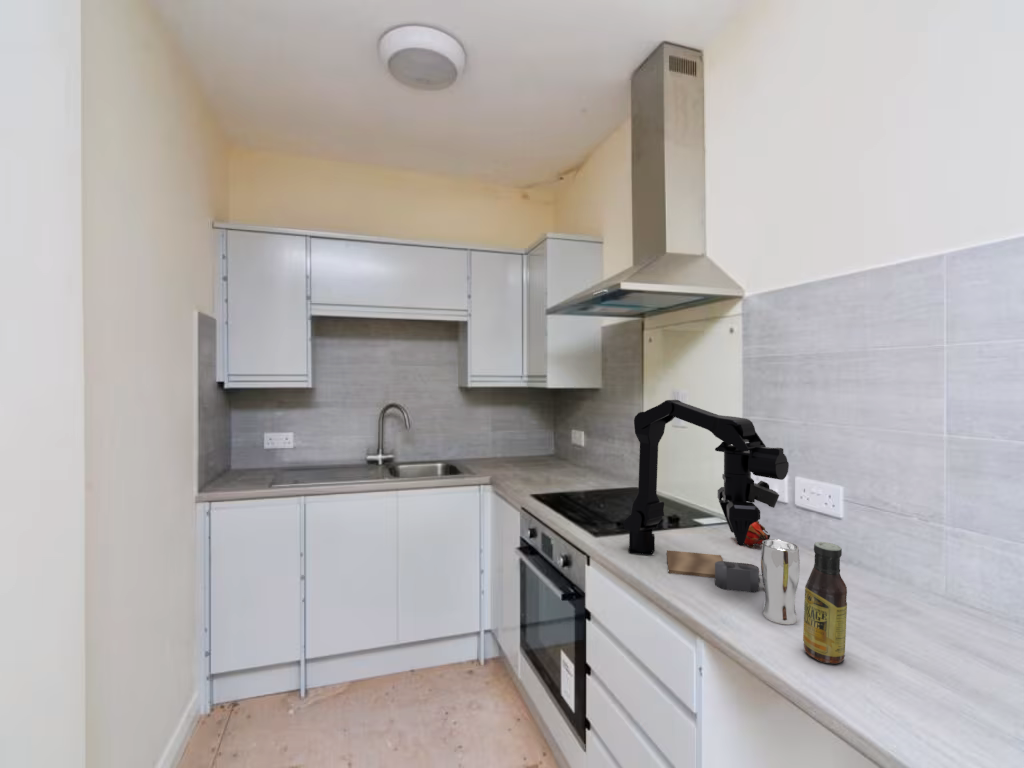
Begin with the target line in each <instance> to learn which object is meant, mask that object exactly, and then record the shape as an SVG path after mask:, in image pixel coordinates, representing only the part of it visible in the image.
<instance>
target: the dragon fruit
mask: <svg viewBox="0 0 1024 768" xmlns="http://www.w3.org/2000/svg"><path fill="white" fill-rule="evenodd" d="M768 539H771V534H768V531H767V530H766V527H764V526H763V525H762V524H761V523H760V521H759V520H758V521H757V522H754V523H752V524H751V525H750V526H749V529H748V532H747V536H746V539H745V542H744V545H746V546H747V547H749V548H751V549H752V548H754V549H755V548H757V547H756V546H755V545H761V546H762V541H764V540H768Z"/></svg>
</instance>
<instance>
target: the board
mask: <svg viewBox="0 0 1024 768" xmlns="http://www.w3.org/2000/svg"><path fill="white" fill-rule="evenodd" d="M666 559H667V568H668V569H667V570H669V571H668V574H673V575H674V574H675V575H683V576H694V577H702V578H703V577H704V578H714V579H715V562H718V561H724V559H723V557H722V555H721V554H712V553H702V552H700V553H699V552H691V551H681V550H680V551H677V550H669V549H668V550H666Z"/></svg>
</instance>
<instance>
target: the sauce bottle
mask: <svg viewBox="0 0 1024 768" xmlns="http://www.w3.org/2000/svg"><path fill="white" fill-rule="evenodd" d="M813 552H814V564H813V567H812V569H811V572H810V574H809V576H808V579H807V581H806V584H805V586H804V603H803V605H804V606H803V609H804V611H803V631H802V632H803V635H802V642H803V649H804V651H805V653H806V654H807V655H808V656H809V657H811V658H813V659H815V660H817V661H818V662H820V663H824V664H833V665H836V664H840V663H842V662H843V661H844V659H845V654H846V653H845V652H846V640H847V639H846V637H847V636H846V635H847V614H848V613H847V612H848V610H847V609H848V602H847V597H848V595H847V594H848V588H847V587H848V586H847V584H846V583H845V581H844V579H843V577H842V576H841V569H840V568H841V567H840V566H841V561H840V560H841V558H842V555H843V551H842V547H841V546H840V545H838V544H836V543H831V542H826V541H816V542H815V543H814V545H813Z"/></svg>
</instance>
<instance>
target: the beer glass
mask: <svg viewBox="0 0 1024 768" xmlns="http://www.w3.org/2000/svg"><path fill="white" fill-rule="evenodd" d="M760 551H761V554H760V570H761V575H762V578H763V583H762V584H763V588H764V595H765V596H764V597H765V598H764V599H765V600H764V606H763V611H762V614H763V615H762V616H764V618H766V619H767V620H768V621H771V622H773V623H775V624H779V625H785V626H786V625H788V626H790V625H791V626H792V625H794V624H796V623H797V621H798V617H797V613H796V605H795V603H796V601H795V600H796V595H797V591H798V586H799V581H800V575H801V574H800V571H801V565H800V564H801V562H800V561H801V560H800V552H799V551H800V547H799V546H798V545H797V544H796V543H794V542H791V541H789V540H788V541H787V540H783V539H775V538H769V539H768V540H764V541H762V545H761V550H760Z"/></svg>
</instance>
